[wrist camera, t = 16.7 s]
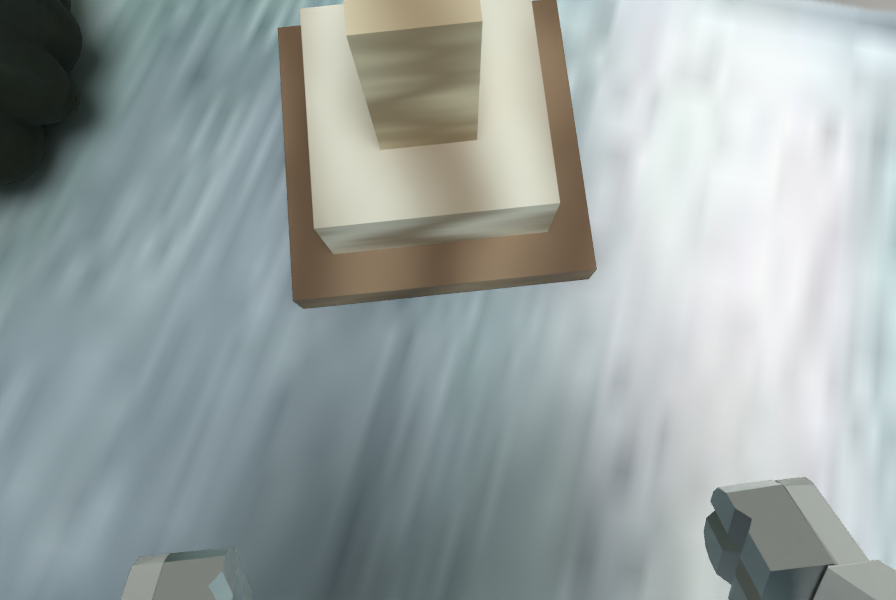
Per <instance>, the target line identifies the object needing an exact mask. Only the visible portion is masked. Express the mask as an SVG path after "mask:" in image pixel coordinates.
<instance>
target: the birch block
mask: <svg viewBox="0 0 896 600" xmlns="http://www.w3.org/2000/svg"><path fill="white" fill-rule="evenodd" d="M343 2H344V15H345V28H346V37H347V40H348V43H349V47H350V50H351V53H352V57H353V60H354V63H355V67H356V70H357V73H358V77H359V80H360V83H361V87H362V90H363V93H364V97H365V100H366V103H367V106H368V110H369V113H370V116H371V120H372V123H373V126H374V130H375V133H376V136H377V140H378V143H379V146H380V150H388V149H397V148H407V147H416V146H426V145H435V144H445V143H454V142H464V141H473V140H477V129H478V108H479V87H480V65H481V44H482V23H483V20H482V12H481V4H480V0H343Z"/></svg>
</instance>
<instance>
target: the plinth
mask: <svg viewBox="0 0 896 600" xmlns="http://www.w3.org/2000/svg"><path fill="white" fill-rule="evenodd" d="M480 4H481V12H482V20H483V23H482V44H481V65H480V87H479V108H478V129H477V140H473V141H464V142H454V143H445V144H435V145H426V146H416V147H407V148H397V149H388V150H380V146H379V143H378V140H377V136H376V133H375V130H374V126H373V123H372V120H371V116H370V113H369V110H368V106H367V103H366V100H365V97H364V93H363V90H362V87H361V83H360V80H359V77H358V73H357V70H356V67H355V63H354V60H353V57H352V53H351V50H350V47H349V43H348V40H347V37H346V28H345V15H344V4H339V5H330V6H320V7H311V8H301V9H300V18H301V26H291V27H282V28H278V40H279V58H280V76H281V94H282V112H283V129H284V147H285V165H286V183H287V201H288V219H289V236H290V254H291V272H292V290H293V301H294V302H295V303H297V304H298V305H299V306H301V307H302V308H304V309H305V308H314V307H324V306H334V305H343V304H353V303H362V302H372V301H382V300H391V299H401V298H411V297H420V296H430V295H439V294H449V293H459V292H468V291H478V290H487V289H497V288H507V287H516V286H526V285H535V284H545V283H555V282H564V281H574V280H583V279H589V278H590V276H591V275H592V274H593V273H594V272H595V271H596V269H597V268H596V261H595V255H594V248H593V241H592V235H591V228H590V221H589V215H588V208H587V201H586V195H585V188H584V181H583V175H582V168H581V162H580V155H579V148H578V142H577V135H576V128H575V122H574V115H573V108H572V102H571V95H570V88H569V82H568V75H567V68H566V62H565V55H564V48H563V42H562V35H561V28H560V22H559V15H558V8H557V2H556V0H537V1H531V0H480Z"/></svg>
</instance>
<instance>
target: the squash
mask: <svg viewBox="0 0 896 600" xmlns="http://www.w3.org/2000/svg"><path fill="white" fill-rule="evenodd" d="M70 9H71V1H70V0H0V185H3V184H9V183H12V182H16V181H19V180H21V179H23V178H25V177H27V176H28V175H30V174H31V173H32V172H33V171H34V170H35V169H36V168H37V166H38V165H39V163H40V162H41V159H42V156H43V152H44V148H45V144H46V136H45V133H44V130H43V127H42V125H48V124H54V123H58V122H61V121H64V120H65V119H67V118H69V117H71V116H72V114H73V113H74V112H75V110H76V109H77V107H78V105H79V103H80V100H79V95H78V92H77V89H76V87H75V84H74V82H73V81H72V79H71V77H70V76H69V74H68V73H67V72H68V71H69V70H71V69H72V67H73V66H74V64H75V63H76V61H77V60H78V58H79V56H80V52H81V48H82V36H81V32H80V28H79V25H78V23H77V22H76V20H75V18H74V17H73V16H72V14H71V13H70Z"/></svg>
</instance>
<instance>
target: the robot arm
mask: <svg viewBox="0 0 896 600" xmlns="http://www.w3.org/2000/svg"><path fill="white" fill-rule="evenodd" d="M711 503H712V505H713V507H714V509H715V511H714V512H713V513H712V514H711V515H709V516H708V517H707V518H706V522H705V527H704V537H705V546H706V550H707V553H708V556H709V559H710V561H711V563H712V566H713V568H714V570H715V572H716V574H717V575H719V576H720V577H722V578H723V579H724V580H726V581H727V582H728V583H730V584H731V588H730V592H729V597H728V599H729V600H896V571H895V570H894V569H892V568H891V567H889V566H887V565H886V564H884V563H882V562H881V561H879V560H870V561H869V560H868V558H867V557H866V555H865V554H864V553H863V551H862V550H861V549H860V547H859V546H858V544H857V543H856V542H855V540H854V539H853V537H852V536H851V535H850V533H849V532H848V531H847V529H846V528H845V526H844V525H843V524H842V522H841V521H840V519H839V518H838V517H837V515H836V514H835V513H834V511H833V510H832V508H831V507H830V506H829V504H828V503H827V502H826V500H825V499H824V497H823V496H822V495H821V493H820V492H819V490H818V489H817V488H816V486H815V485H814V484H813V482H812V481H810V480H809V479H807V478H806V477H797V478H790V479H783V480H776V481H773V480H768V481H760V482H753V483H746V484H739V485H731V486H724V487H718V488H717V489H716V490H714V491H713V494H712V498H711ZM239 561H240V558H239V556H238V554H237V552H236V549H235V547H229V548H219V549H209V550H199V551H189V552H180V553H168V554H160V555H151V556H143V557H139V558H138V559H137V560H136V562H135V563H134V565H133V566H132V567H131V570H130V572H129V575H128V578H127V581H126V584H125V587H124V590H123V592H122V595H121V598H120V600H252V593H251V587H250V583H249V580H248V577H247V575H246V574H244V573H242V572H241V571H239V570H238V566H239Z"/></svg>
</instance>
